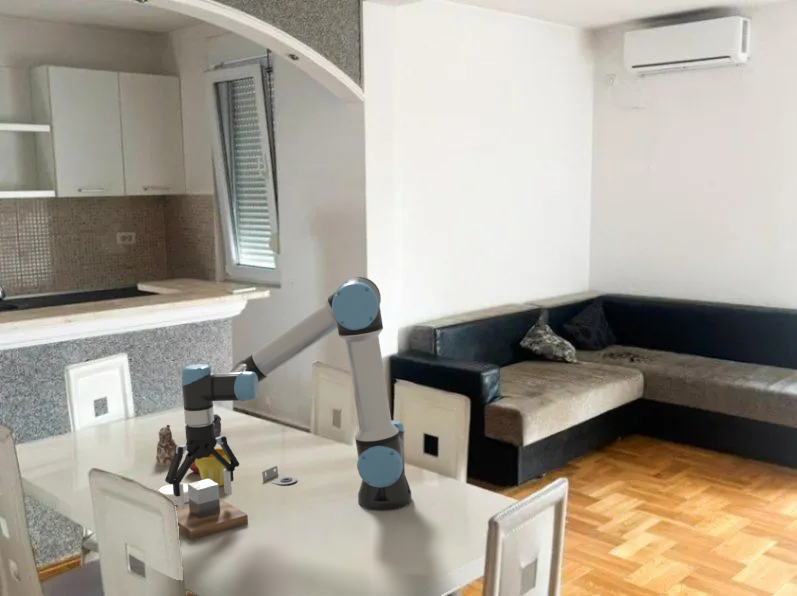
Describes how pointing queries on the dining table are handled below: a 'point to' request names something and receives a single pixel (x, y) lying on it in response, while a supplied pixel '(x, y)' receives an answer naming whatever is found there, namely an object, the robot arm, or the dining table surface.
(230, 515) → the cutting board
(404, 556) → the dining table surface
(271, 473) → the bracket
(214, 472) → the plant pot
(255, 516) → the dining table surface
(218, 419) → the camera
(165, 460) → the figurine
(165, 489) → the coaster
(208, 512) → the block
